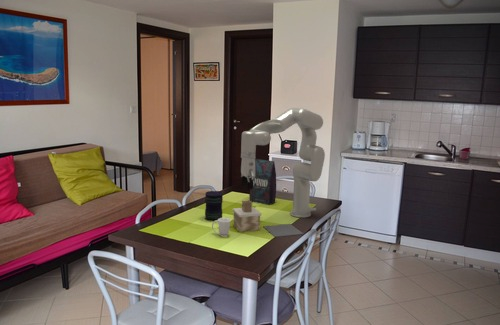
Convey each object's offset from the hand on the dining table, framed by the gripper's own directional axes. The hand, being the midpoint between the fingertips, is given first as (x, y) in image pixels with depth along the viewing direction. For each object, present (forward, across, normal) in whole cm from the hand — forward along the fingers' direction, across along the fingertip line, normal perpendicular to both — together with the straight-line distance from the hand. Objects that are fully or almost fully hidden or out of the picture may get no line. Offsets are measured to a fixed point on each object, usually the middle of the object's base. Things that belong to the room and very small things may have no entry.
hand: (246, 187), depth 222 cm
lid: (+14, 0, 0) cm, 14 cm away
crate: (+22, 0, -1) cm, 22 cm away
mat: (+22, -10, -18) cm, 30 cm away
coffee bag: (+22, +45, -28) cm, 57 cm away
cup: (+23, -7, +15) cm, 28 cm away
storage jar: (+23, +19, +12) cm, 32 cm away
